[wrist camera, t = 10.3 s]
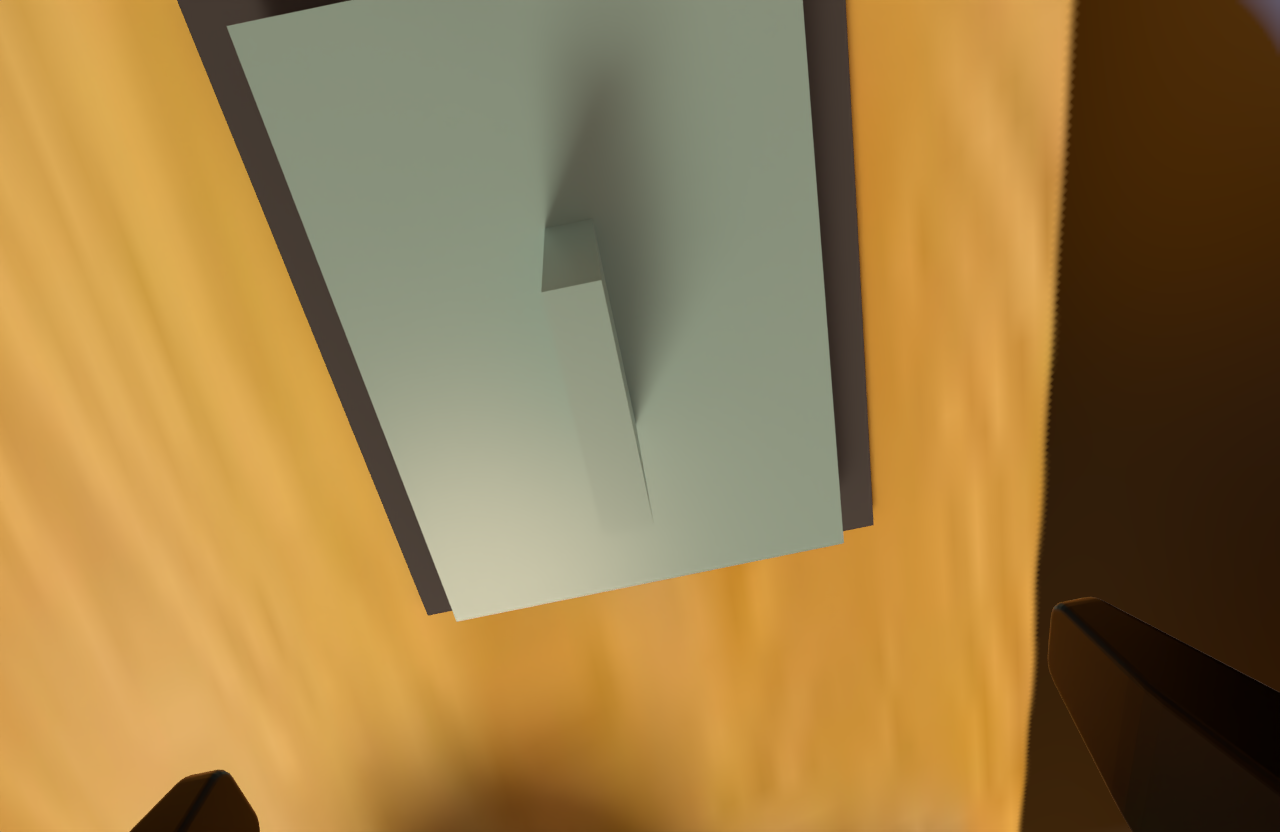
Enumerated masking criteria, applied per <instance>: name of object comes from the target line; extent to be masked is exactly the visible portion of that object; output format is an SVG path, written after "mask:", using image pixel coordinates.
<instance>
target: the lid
mask: <svg viewBox="0 0 1280 832" xmlns="http://www.w3.org/2000/svg"><path fill="white" fill-rule="evenodd" d="M227 29H228V31H229V34H230V37H231V39H232V42H233V44H234V47H235V50H236V52H237V55H238V57H239V60H240V62H241V65H242V68H243V70H244V73H245V75H246V78H247V81H248V83H249V86H250V88H251V91H252V93H253V96H254V99H255V101H256V104H257V106H258V109H259V112H260V114H261V117H262V119H263V122H264V125H265V127H266V130H267V132H268V135H269V137H270V140H271V143H272V145H273V148H274V150H275V153H276V156H277V158H278V161H279V163H280V166H281V168H282V171H283V174H284V176H285V179H286V181H287V184H288V187H289V189H290V192H291V194H292V197H293V200H294V202H295V205H296V207H297V210H298V212H299V215H300V218H301V220H302V223H303V225H304V228H305V231H306V233H307V236H308V238H309V241H310V243H311V246H312V249H313V251H314V254H315V256H316V259H317V262H318V264H319V267H320V269H321V272H322V275H323V277H324V280H325V282H326V285H327V287H328V290H329V293H330V295H331V298H332V300H333V303H334V306H335V308H336V311H337V313H338V316H339V319H340V321H341V324H342V326H343V329H344V331H345V334H346V337H347V339H348V342H349V344H350V347H351V350H352V352H353V355H354V357H355V360H356V362H357V365H358V368H359V370H360V373H361V375H362V378H363V381H364V383H365V386H366V388H367V391H368V394H369V396H370V399H371V401H372V404H373V406H374V409H375V412H376V414H377V417H378V419H379V422H380V425H381V427H382V430H383V432H384V435H385V437H386V440H387V443H388V445H389V448H390V450H391V453H392V456H393V458H394V461H395V463H396V466H397V469H398V471H399V474H400V476H401V479H402V481H403V484H404V487H405V489H406V492H407V494H408V497H409V500H410V502H411V505H412V507H413V510H414V512H415V515H416V518H417V520H418V523H419V525H420V528H421V531H422V533H423V536H424V538H425V541H426V544H427V546H428V549H429V551H430V554H431V556H432V559H433V562H434V564H435V567H436V569H437V572H438V575H439V577H440V580H441V582H442V585H443V587H444V590H445V593H446V595H447V598H448V600H449V603H450V606H451V608H452V611H453V613H454V616H455V619H456V621H457V622H458V621H463V620H467V619H472V618H477V617H482V616H487V615H492V614H497V613H502V612H507V611H512V610H517V609H522V608H527V607H532V606H536V605H541V604H546V603H551V602H556V601H561V600H566V599H571V598H576V597H581V596H586V595H591V594H596V593H601V592H605V591H610V590H615V589H620V588H625V587H630V586H635V585H640V584H645V583H650V582H655V581H660V580H665V579H670V578H675V577H679V576H684V575H689V574H694V573H699V572H704V571H709V570H714V569H719V568H724V567H729V566H734V565H739V564H744V563H748V562H753V561H758V560H763V559H768V558H773V557H778V556H783V555H788V554H793V553H798V552H803V551H808V550H813V549H817V548H822V547H827V546H832V545H837V544H842V543H844V540H843V526H842V513H841V500H840V487H839V474H838V460H837V447H836V434H835V421H834V407H833V394H832V381H831V368H830V355H829V341H828V328H827V315H826V302H825V289H824V275H823V262H822V249H821V236H820V223H819V209H818V196H817V183H816V170H815V156H814V143H813V130H812V117H811V104H810V90H809V77H808V64H807V51H806V38H805V24H804V11H803V0H350V1H345V2H340V3H335V4H331V5H326V6H321V7H316V8H311V9H307V10H302V11H297V12H292V13H287V14H282V15H278V16H273V17H268V18H263V19H258V20H254V21H249V22H244V23H239V24H234V25H230V26H227Z"/></svg>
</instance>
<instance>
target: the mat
mask: <svg viewBox="0 0 1280 832" xmlns="http://www.w3.org/2000/svg"><path fill="white" fill-rule="evenodd" d="M177 1H178V4H179V6H180V8H181V11H182V13H183V16H184V18H185V21H186V23H187V26H188V28H189V31H190V33H191V35H192V38H193V40H194V43H195V45H196V48H197V50H198V53H199V55H200V57H201V60H202V62H203V65H204V67H205V70H206V72H207V75H208V77H209V80H210V82H211V84H212V87H213V89H214V92H215V94H216V97H217V99H218V102H219V104H220V107H221V109H222V111H223V114H224V116H225V119H226V121H227V124H228V126H229V129H230V131H231V134H232V136H233V138H234V141H235V143H236V146H237V148H238V151H239V153H240V156H241V158H242V161H243V163H244V165H245V168H246V170H247V173H248V175H249V178H250V180H251V183H252V185H253V187H254V190H255V192H256V195H257V197H258V200H259V202H260V205H261V207H262V210H263V212H264V214H265V217H266V219H267V222H268V224H269V227H270V229H271V232H272V234H273V237H274V239H275V241H276V244H277V246H278V249H279V251H280V254H281V256H282V259H283V261H284V264H285V266H286V268H287V271H288V273H289V276H290V278H291V281H292V283H293V286H294V288H295V290H296V293H297V295H298V298H299V300H300V303H301V305H302V308H303V310H304V313H305V315H306V317H307V320H308V322H309V325H310V327H311V330H312V332H313V335H314V337H315V340H316V342H317V344H318V347H319V349H320V352H321V354H322V357H323V359H324V362H325V364H326V367H327V369H328V371H329V374H330V376H331V379H332V381H333V384H334V386H335V389H336V391H337V394H338V396H339V398H340V401H341V403H342V406H343V408H344V411H345V413H346V416H347V418H348V420H349V423H350V425H351V428H352V430H353V433H354V435H355V438H356V440H357V443H358V445H359V447H360V450H361V452H362V455H363V457H364V460H365V462H366V465H367V467H368V470H369V472H370V474H371V477H372V479H373V482H374V484H375V487H376V489H377V492H378V494H379V497H380V499H381V501H382V504H383V506H384V509H385V511H386V514H387V516H388V519H389V521H390V523H391V526H392V528H393V531H394V533H395V536H396V538H397V541H398V543H399V546H400V548H401V550H402V553H403V555H404V558H405V560H406V563H407V565H408V568H409V570H410V573H411V575H412V577H413V580H414V582H415V585H416V587H417V590H418V592H419V595H420V597H421V600H422V602H423V604H424V607H425V609H426V612H427V614H428V615H433V614H438V613H443V612H447V611H452V608H451V606H450V603H449V600H448V598H447V595H446V593H445V590H444V587H443V585H442V582H441V580H440V577H439V575H438V572H437V569H436V567H435V564H434V562H433V559H432V556H431V554H430V551H429V549H428V546H427V544H426V541H425V538H424V536H423V533H422V531H421V528H420V525H419V523H418V520H417V518H416V515H415V512H414V510H413V507H412V505H411V502H410V500H409V497H408V494H407V492H406V489H405V487H404V484H403V481H402V479H401V476H400V474H399V471H398V469H397V466H396V463H395V461H394V458H393V456H392V453H391V450H390V448H389V445H388V443H387V440H386V437H385V435H384V432H383V430H382V427H381V425H380V422H379V419H378V417H377V414H376V412H375V409H374V406H373V404H372V401H371V399H370V396H369V394H368V391H367V388H366V386H365V383H364V381H363V378H362V375H361V373H360V370H359V368H358V365H357V362H356V360H355V357H354V355H353V352H352V350H351V347H350V344H349V342H348V339H347V337H346V334H345V331H344V329H343V326H342V324H341V321H340V319H339V316H338V313H337V311H336V308H335V306H334V303H333V300H332V298H331V295H330V293H329V290H328V287H327V285H326V282H325V280H324V277H323V275H322V272H321V269H320V267H319V264H318V262H317V259H316V256H315V254H314V251H313V249H312V246H311V243H310V241H309V238H308V236H307V233H306V231H305V228H304V225H303V223H302V220H301V218H300V215H299V212H298V210H297V207H296V205H295V202H294V200H293V197H292V194H291V192H290V189H289V187H288V184H287V181H286V179H285V176H284V174H283V171H282V168H281V166H280V163H279V161H278V158H277V156H276V153H275V150H274V148H273V145H272V143H271V140H270V137H269V135H268V132H267V130H266V127H265V125H264V122H263V119H262V117H261V114H260V112H259V109H258V106H257V104H256V101H255V99H254V96H253V93H252V91H251V88H250V86H249V83H248V81H247V78H246V75H245V73H244V70H243V68H242V65H241V62H240V60H239V57H238V55H237V52H236V50H235V47H234V44H233V42H232V39H231V37H230V34H229V31H228V29H227V26H230V25H234V24H239V23H244V22H249V21H254V20H258V19H263V18H268V17H273V16H278V15H282V14H287V13H292V12H297V11H302V10H307V9H311V8H316V7H321V6H326V5H331V4H335V3H340V2H345V1H350V0H177ZM803 11H804V24H805V38H806V51H807V64H808V77H809V90H810V104H811V117H812V130H813V143H814V156H815V170H816V183H817V196H818V209H819V223H820V236H821V249H822V262H823V275H824V289H825V302H826V315H827V328H828V341H829V355H830V368H831V381H832V394H833V407H834V421H835V434H836V447H837V460H838V474H839V487H840V500H841V513H842V526H843V531H846V530H851V529H856V528H861V527H866V526H871V525H873V508H872V490H871V471H870V452H869V433H868V414H867V396H866V377H865V358H864V339H863V320H862V302H861V283H860V264H859V245H858V227H857V208H856V189H855V170H854V151H853V133H852V114H851V95H850V76H849V57H848V39H847V20H846V1H845V0H803Z"/></svg>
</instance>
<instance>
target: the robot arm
mask: <svg viewBox="0 0 1280 832" xmlns="http://www.w3.org/2000/svg"><path fill="white" fill-rule="evenodd" d="M1048 665H1049V670H1050V673H1051V676H1052V679H1053V681H1054V683H1055V685H1056V687H1057V689H1058V691H1059V693H1060V695H1061V697H1062V699H1063V701H1064V703H1065V705H1066V707H1067V709H1068V711H1069V713H1070V715H1071V717H1072V719H1073V721H1074V722H1075V725H1076V727H1077V728H1078V730H1079V732H1080V734H1081V736H1082V738H1083V740H1084V742H1085V744H1086V746H1087V748H1088V750H1089V752H1090V754H1091V756H1092V758H1093V760H1094V762H1095V764H1096V766H1097V768H1098V770H1099V772H1100V774H1101V776H1102V778H1103V780H1104V781H1105V784H1106V785H1107V787H1108V789H1109V791H1110V793H1111V795H1112V797H1113V799H1114V801H1115V803H1116V804H1117V806H1118V808H1119V810H1120V812H1121V814H1122V816H1123V817H1124V819H1125V821H1126V822H1127V824H1128V825H1129V827H1130V829H1131V831H1132V832H1280V692H1278V691H1276V690H1274V689H1272V688H1270V687H1268V686H1266V685H1264V684H1262V683H1261V682H1259V681H1257V680H1255V679H1253V678H1251V677H1249V676H1247V675H1245V674H1243V673H1241V672H1239V671H1238V670H1235V669H1233V668H1232V667H1230V666H1228V665H1226V664H1224V663H1222V662H1220V661H1218V660H1216V659H1214V658H1213V657H1211V656H1209V655H1207V654H1205V653H1203V652H1201V651H1199V650H1197V649H1195V648H1193V647H1191V646H1189V645H1188V644H1186V643H1184V642H1182V641H1180V640H1178V639H1176V638H1174V637H1172V636H1170V635H1168V634H1166V633H1164V632H1162V631H1161V630H1158V629H1157V628H1155V627H1153V626H1151V625H1149V624H1147V623H1145V622H1143V621H1141V620H1139V619H1137V618H1135V617H1134V616H1132V615H1130V614H1128V613H1126V612H1124V611H1122V610H1120V609H1118V608H1116V607H1114V606H1113V605H1111V604H1109V603H1107V602H1105V601H1103V600H1100V599H1098V598H1094V597H1085V598H1081V599H1075V600H1071V601H1065V602H1060V603H1058V604H1056V605H1055V606H1054V608H1053V610H1052V614H1051V624H1050V636H1049V650H1048ZM130 832H260V828H259V822H258V818H257V815H256V813H255V812H254V810H253V808H252V807H251V805H250V804H249V802H248V801H247V799H246V797H245V796H244V794H243V793H242V791H241V790H240V788H239V787H238V785H237V783H236V782H235V780H234V779H233V777H232V776H231V775H230V773H228V772H226V771H224V770H214V771H209V772H204V773H199V774H194V775H190V776H188V777H185V778H184V779H182V780H181V781H180V782H178V783H177V784H176V785H175V786H174V787H173V788H172V789H171V790H170V791H169V792H168V793H167V794H166V795H165V796H164V797H163V798H162V799H161V800H160V801H159V802H158V803H157V804H156V805H155V806H154V807H153V808H152V809H151V810H150V811H149V812H148V813H147V814H146V815H145V816H144V817H143V819H142V820H141V821H140V822H139V823H138V824H137V825H136V826H135V827H134V828H133V829H132V830H131V831H130Z"/></svg>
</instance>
